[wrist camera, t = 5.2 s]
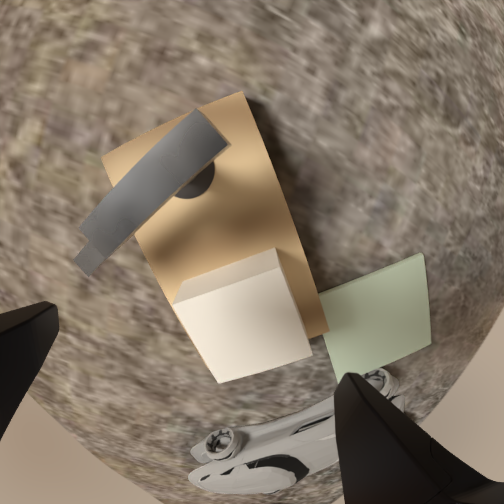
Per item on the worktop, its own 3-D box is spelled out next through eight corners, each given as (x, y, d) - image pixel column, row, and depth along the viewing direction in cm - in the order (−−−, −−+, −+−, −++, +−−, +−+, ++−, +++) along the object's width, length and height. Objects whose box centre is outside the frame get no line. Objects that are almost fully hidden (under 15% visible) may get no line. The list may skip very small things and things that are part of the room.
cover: (305, 327, 20) (313, 355, 17) (221, 354, 20) (218, 383, 18) (274, 247, 18) (279, 266, 15) (182, 281, 19) (171, 305, 16)
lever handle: (118, 254, 18) (61, 308, 11) (101, 235, 17) (37, 282, 11) (236, 145, 16) (228, 144, 9) (217, 123, 15) (195, 107, 9)
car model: (410, 412, 27) (426, 445, 22) (225, 482, 31) (223, 513, 26) (387, 352, 24) (409, 390, 19) (167, 441, 28) (159, 477, 23)
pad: (429, 341, 23) (431, 343, 23) (337, 380, 24) (338, 383, 24) (420, 252, 20) (423, 254, 20) (309, 296, 21) (310, 299, 21)
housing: (323, 316, 22) (330, 331, 20) (211, 353, 23) (208, 370, 21) (242, 96, 17) (242, 90, 15) (114, 155, 18) (100, 157, 16)
